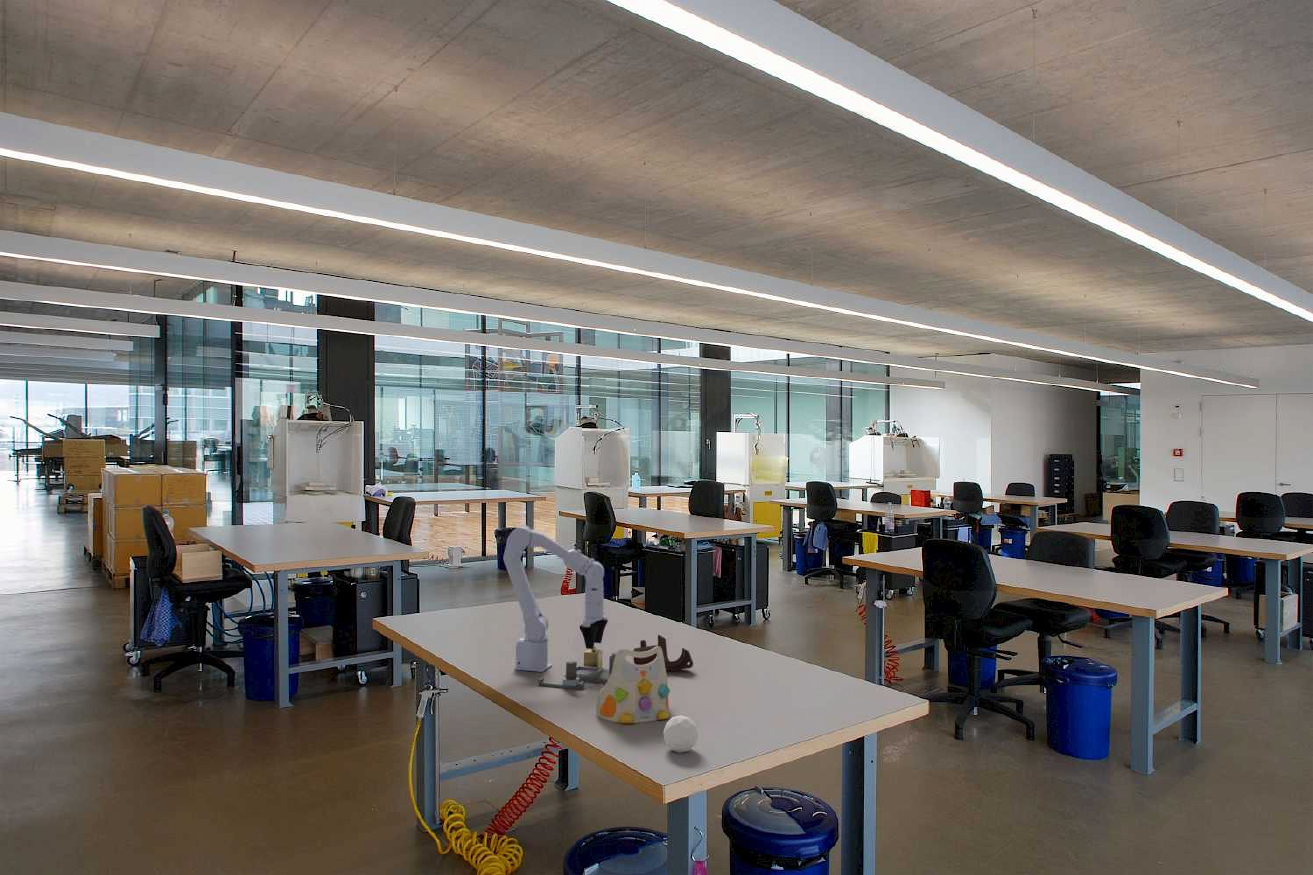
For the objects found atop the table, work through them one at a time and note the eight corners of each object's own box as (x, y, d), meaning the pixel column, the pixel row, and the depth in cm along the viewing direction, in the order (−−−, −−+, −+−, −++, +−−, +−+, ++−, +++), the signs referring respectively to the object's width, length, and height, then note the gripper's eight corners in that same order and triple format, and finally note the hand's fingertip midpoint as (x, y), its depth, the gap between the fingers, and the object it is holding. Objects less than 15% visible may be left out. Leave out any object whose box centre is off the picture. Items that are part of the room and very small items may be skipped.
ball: (683, 766, 176) (679, 745, 172) (658, 744, 181) (654, 723, 177) (706, 743, 180) (703, 722, 176) (681, 722, 185) (678, 702, 181)
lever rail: (538, 685, 226) (538, 679, 226) (541, 683, 229) (541, 677, 229) (581, 689, 223) (581, 683, 223) (584, 687, 225) (584, 681, 225)
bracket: (690, 665, 239) (686, 630, 244) (634, 673, 243) (631, 638, 248) (695, 668, 245) (692, 634, 249) (640, 676, 249) (637, 642, 253)
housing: (583, 670, 243) (584, 648, 244) (588, 666, 248) (589, 644, 248) (597, 671, 242) (597, 649, 242) (602, 667, 247) (602, 645, 247)
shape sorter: (609, 728, 192) (610, 655, 193) (595, 715, 202) (596, 645, 202) (682, 718, 200) (683, 648, 201) (665, 706, 210) (666, 639, 210)
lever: (562, 684, 224) (562, 663, 224) (566, 681, 227) (566, 660, 227) (575, 685, 223) (576, 664, 223) (579, 682, 226) (580, 661, 226)
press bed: (564, 679, 232) (564, 656, 233) (576, 670, 242) (576, 648, 242) (609, 683, 229) (610, 660, 229) (620, 674, 239) (620, 652, 239)
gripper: (598, 606, 237) (598, 652, 237) (613, 598, 251) (613, 641, 251) (576, 605, 239) (576, 650, 239) (592, 597, 253) (592, 639, 253)
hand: (593, 645), depth 245 cm, fingers open, 7 cm apart
